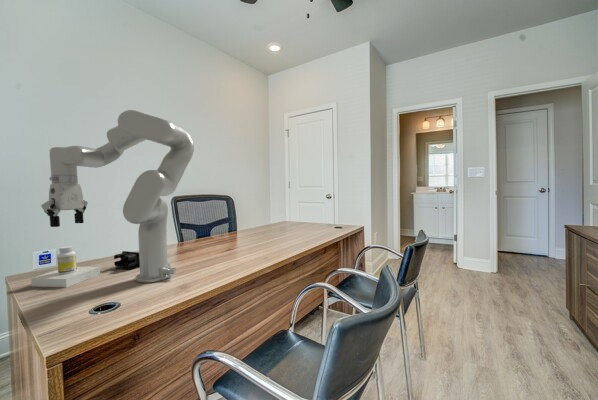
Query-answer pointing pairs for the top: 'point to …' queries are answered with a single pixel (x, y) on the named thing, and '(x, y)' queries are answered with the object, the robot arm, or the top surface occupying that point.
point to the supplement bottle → (66, 260)
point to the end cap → (127, 260)
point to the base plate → (65, 277)
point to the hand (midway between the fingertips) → (67, 224)
